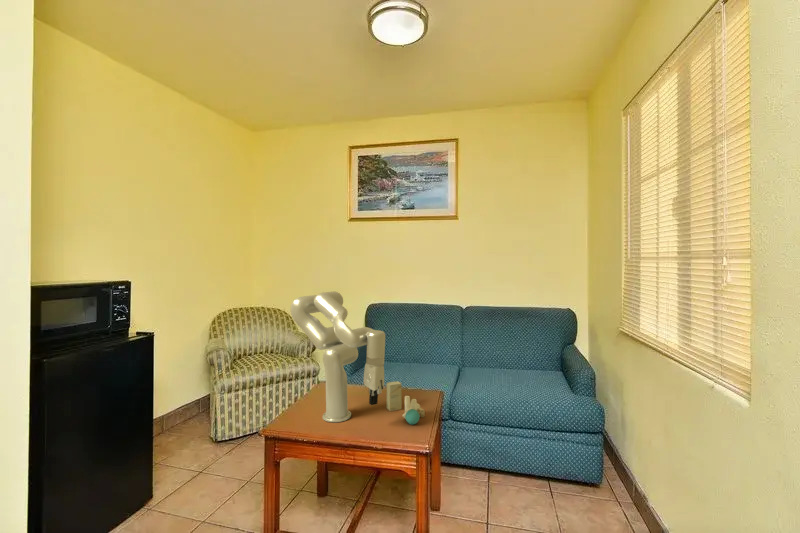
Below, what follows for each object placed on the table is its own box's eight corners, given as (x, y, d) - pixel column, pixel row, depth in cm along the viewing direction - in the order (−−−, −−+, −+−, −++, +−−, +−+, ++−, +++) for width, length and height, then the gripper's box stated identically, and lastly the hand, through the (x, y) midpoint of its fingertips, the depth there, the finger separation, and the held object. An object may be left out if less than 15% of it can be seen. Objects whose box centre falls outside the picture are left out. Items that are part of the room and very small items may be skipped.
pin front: (401, 413, 163) (416, 402, 167) (403, 418, 163) (417, 406, 167) (404, 415, 161) (419, 404, 165) (406, 420, 161) (421, 408, 165)
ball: (410, 416, 162) (404, 406, 160) (422, 414, 160) (417, 405, 157) (407, 428, 157) (401, 418, 155) (420, 426, 155) (414, 417, 152)
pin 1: (403, 415, 166) (403, 396, 166) (408, 414, 168) (407, 395, 168) (406, 417, 164) (406, 398, 164) (411, 415, 166) (411, 396, 166)
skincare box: (389, 411, 171) (389, 385, 171) (386, 408, 175) (385, 382, 175) (402, 409, 174) (401, 383, 174) (398, 406, 178) (398, 380, 178)
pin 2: (410, 419, 162) (409, 399, 162) (414, 417, 163) (414, 398, 164) (413, 421, 160) (413, 401, 160) (417, 419, 161) (417, 400, 162)
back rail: (406, 409, 174) (406, 402, 174) (409, 408, 174) (409, 402, 174) (422, 417, 164) (421, 410, 164) (424, 416, 164) (424, 410, 164)
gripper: (358, 357, 159) (357, 399, 159) (376, 366, 146) (374, 412, 147) (374, 355, 163) (372, 396, 163) (392, 364, 150) (390, 408, 151)
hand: (373, 403), depth 155 cm, fingers closed
